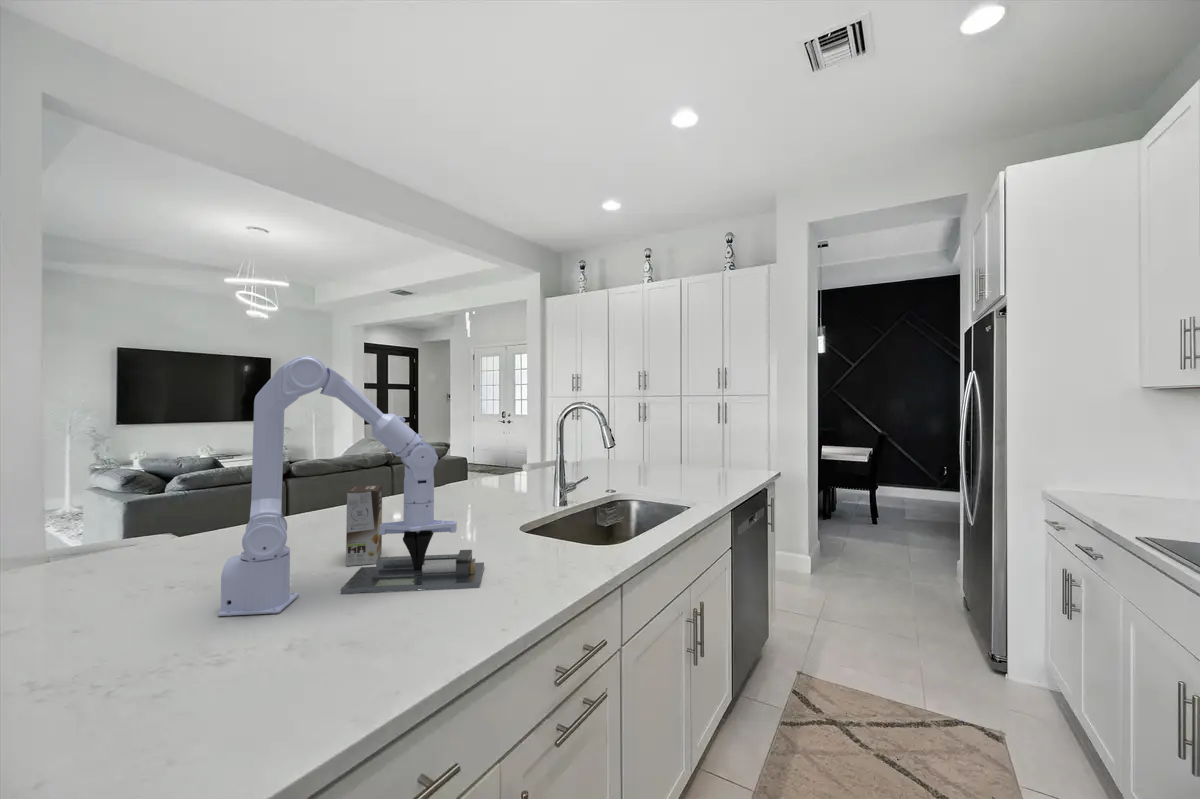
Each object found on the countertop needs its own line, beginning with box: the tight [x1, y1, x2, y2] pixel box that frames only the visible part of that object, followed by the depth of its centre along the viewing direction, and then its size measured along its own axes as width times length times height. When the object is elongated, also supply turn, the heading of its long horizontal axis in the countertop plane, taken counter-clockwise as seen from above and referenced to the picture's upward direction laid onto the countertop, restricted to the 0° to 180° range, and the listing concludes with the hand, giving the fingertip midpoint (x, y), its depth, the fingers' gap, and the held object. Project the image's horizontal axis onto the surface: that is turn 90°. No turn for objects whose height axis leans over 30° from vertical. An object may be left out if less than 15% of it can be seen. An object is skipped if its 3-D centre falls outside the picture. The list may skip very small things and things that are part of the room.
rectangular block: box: [422, 558, 476, 574], centre depth 103 cm, size 10×3×2 cm, turn 98°
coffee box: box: [345, 484, 383, 567], centre depth 114 cm, size 9×6×16 cm
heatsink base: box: [340, 549, 485, 595], centre depth 102 cm, size 25×12×5 cm, turn 98°
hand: (418, 568), depth 102 cm, fingers closed
